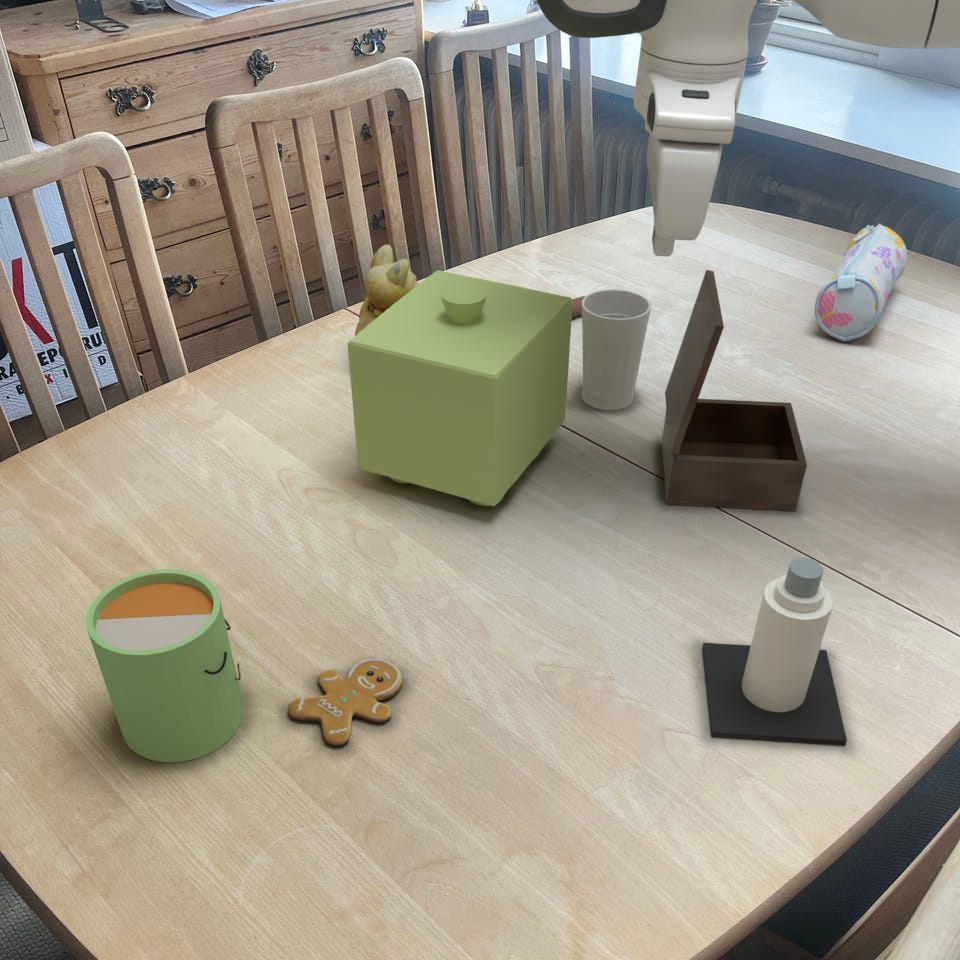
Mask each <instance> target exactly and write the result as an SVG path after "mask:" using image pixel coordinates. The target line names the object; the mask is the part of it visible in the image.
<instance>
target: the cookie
mask: <svg viewBox="0 0 960 960" xmlns="http://www.w3.org/2000/svg"><path fill="white" fill-rule="evenodd" d="M317 682H318V685H319V686H320V688H321V690H322V691H323V693H324V695H317V696H309V697H299V698H296V699H294V700H292V701H291V702H290V703H289V704H288V706H287V713H288V714H289V716H290V717H291V718H293V719H295V720H297V721H298V720H299V721H314V722H319V723H320V726H321V733H322V736H323V739H324V741H325V742H326V743H327V744H329V745H333V746H342V745H344V744H346V743H347V742H348V741H349V739H350V737H351V734H352V732H351V731H352V720H353V717H358V718H361V719H364V720H368V721H371V722H374V723H384V722H386V721H388V720H390V717H391V716H392V708H391V707H390V706H389V705H388V704H386V703H383V702H380V701H385V700H388V699H391V698H392V697H393V696H395V695H396V694H397V693H398V692H399V690H400V689H401V688H402V685H403V674H402V672H401V670H400V669H399V668H398V667H397V665H395V664H393V663H391V662H390V661H388V660H385V659H382V658H368V659H364V660H361V661H359V662H357V663H355V664H354V665H353V666H352V667H351V668H350V669H349V671H348V673H347V676H346V678H343V677H342V675H341V674H340V673H339V672H338V671H336V670H333V669H326V670H323V671H321V672H320V674H318V677H317Z"/></svg>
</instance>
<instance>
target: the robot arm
mask: <svg viewBox="0 0 960 960" xmlns="http://www.w3.org/2000/svg"><path fill="white" fill-rule="evenodd" d="M791 1H792V2H793V3H795V4H797V5H798V6H800V7H802V8H803V9H804V10H806V11H807V12H808V13H809V14H810V15H812V16H813V17H814V18H815V19H816V20H817V21H818V22H819V23H820V24H821V25H822V26H823V27H824V28H825V29H826V30H827V31H828V32H829V33H830V34H832V35H833V36H836V37H837V38H841V39H844V40H848V41H851V42H852V41H853V42H857V43H860V44H866V45H872V46H876V47H884V48H891V49H907V50H908V49H912V50H913V49H914V50H922V49H925V50H939V49H942V50H943V49H944V50H945V49H946V50H947V49H960V0H791ZM757 2H758V0H536V3H537V5H538V7H539V9H540V11H541V12H542V14H543V16H544V17H545V18H546V20H547V21H548V22H549V23H550V24H551V25H552V26H554V27H555V28H556V29H557V30H559V31H561V32H562V33H564V34H566V35H568V36H571V37H575V38H581V39H597V38H598V39H599V38H607V37H620V36H627V35H633V34H639V35H640V36H641V40H640V41H641V43H640V49H639V55H638V65H637V73H636V80H635V87H634V94H633V103H632V105H633V108H634V110H635V112H637V113H638V114H640V115H641V116H642V118H643V119H644V128H645V131H646V132H648V141H647V148H646V166H647V174H648V182H649V189H650V197H651V203H652V213H653V229H652V234H651V235H652V236H651V243H652V251H653V255H654V256H656V257H666V258H667V257H671V256H672V255H673V253H674V249H675V248H674V247H675V242H676V241H688V242H689V241H695V240H697V239H698V237H699V235H700V234H701V231H702V230H703V226H704V223H705V220H706V217H707V214H708V209H709V206H710V202H711V199H712V195H713V191H714V187H715V183H716V180H717V175H718V171H719V167H720V163H721V157H722V152H723V145H729V144H730V143H731V142H732V140H733V136H734V132H735V127H736V126H735V125H736V118H737V112H738V108H739V102H740V97H741V92H742V86H743V82H744V77H745V71H746V66H747V60H748V56H749V26H750V21H751V17H752V13H753V11H754V8H755V6H756V4H757Z"/></svg>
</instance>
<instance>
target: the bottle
mask: <svg viewBox="0 0 960 960" xmlns="http://www.w3.org/2000/svg"><path fill="white" fill-rule="evenodd" d="M823 575H824V567H823V566H822V564H821V563H820V562H818V561H817V560H815V559H813V558H808V557H796V558H794V559H793V560H791V561H790V562H789V565H788V567H787V573H785V574H783V575H781V576H780V577H776V578H773V579H772V580H770V581H769V582H768V583H767V584H766V586H765V587H764V590H763V594H762V597H761V602H760V606H759V609H758V610H759V611H758V614H757V618H756V622H755V626H754V630H753V635H752V639H751V643H750V646H751V647H750V651H749V655H748V659H747V663H746V668H745V672H744V676H743V680H742V691H743V693H744V695H745V696H746V698H747V699H748V700H749V701H750V702H751V703H753V704H754V705H756V706H757V707H759V708H761V709H764V710H767V711H772V712H788V711H792V710H794V709H796V708H798V707H799V706H800V705H801V704H802V703H803V701H804V699H805V696H806V693H807V689H808V686H809V683H810V680H811V676H812V673H813V670H814V666H815V663H816V660H817V656H818V653H819V650H821V646H822V644H823V640H824V636H825V633H826V630H827V626H828V623H829V620H830V616H831V613H832V610H833V608H834V599H833V596H832V595H831V593H830V591H829V590H828V589H827V588H826V587H825V585H824V583H822V579H823Z"/></svg>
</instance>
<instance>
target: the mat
mask: <svg viewBox="0 0 960 960" xmlns="http://www.w3.org/2000/svg"><path fill="white" fill-rule="evenodd" d="M750 647H751V644H750V645H749V644H731V643H716V642H715V643H714V642H703V643H702V657H703V658H702V659H703V668H704V676H705V687H706V697H707V707H708V717H709V727H710V734H711V735H710V736H711V737H714V738H715V737H716V738H726V739H727V738H730V739H744V740H760V741H776V742H791V743H805V744H818V745H819V744H820V745H822V744H823V745H835V746H836V745H837V746H846V745H847V742H848V739H847V734H846V731H845V730H846V729H845V725H844V723H843V722H844V721H843V717H842V712H841V708H840V704H839V700H838V695H837V691H836V690H837V689H836V685H835V682H834V678H833V673H832V669H831V664H830V659H829V656H828V651H827V650H826V649H820V650H819V653H818V656H817V660H816V663H815V666H814V670H813V673H812V676H811V680H810V683H809V686H808V689H807V693H806V696H805V699H804V701H803V703H802V704H801V705H800V706H799V707H798V708H796V709H794V710H792V711H788V712H772V711H767V710H764V709H761V708H759V707H757V706H756V705H754V704H753V703H751V702H750V701H749V700H748V699H747V698H746V696H745V695H744V693H743V691H742V680H743V676H744V672H745V668H746V663H747V659H748V655H749V651H750Z"/></svg>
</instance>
